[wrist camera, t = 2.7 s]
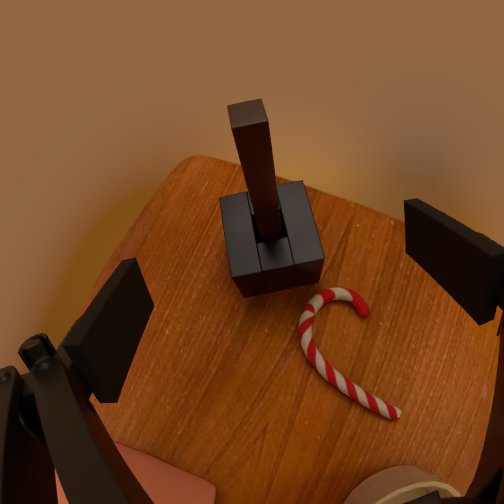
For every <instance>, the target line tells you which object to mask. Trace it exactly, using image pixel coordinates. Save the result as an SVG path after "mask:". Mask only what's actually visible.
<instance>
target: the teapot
mask: <svg viewBox="0 0 504 504" xmlns="http://www.w3.org/2000/svg"><path fill="white" fill-rule="evenodd" d="M113 442H114V441H113ZM114 444H115V446H116V447H117V449H118V451H119V452H120V454H121V455H122V457H123V459H124V460H125V462H126V463H127V465H128V466H129V468H130V469H131V471H132V473H133V474H134V475H135V477H136V478H137V480H138V481H139V483H140V484H141V486H142V487H143V489H144V490H145V491H146V493H147V494H148V495H149V497H150V498H151V500H152V501H153V502H154V504H214V500H215V494H216V487H215V486H214V485H213V484H212V483H210V482H208V481H206V480H204V479H202V478H200V477H198V476H196V475H193V474H191V473H189V472H186V471H184V470H182V469H180V468H177V467H175V466H173V465H171V464H168V463H166V462H164V461H162V460H159V459H157V458H155V457H152V456H150V455H147V454H145V453H142V452H140V451H137V450H135V449H132V448H130V447H127V446H125V445H122V444H120V443H117V442H114ZM55 477H56V487H57V496H58V504H69V503H68V501H67V498H66V496H65V494H64V491H63V489H62V486H61V483H60V481H59V478H58V475H57V473H56V470H55Z"/></svg>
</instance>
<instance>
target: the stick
mask: <svg viewBox="0 0 504 504" xmlns="http://www.w3.org/2000/svg"><path fill="white" fill-rule="evenodd" d="M227 108H228V114H229V119H230V124H231V129H232V133H233V137H234V140H235V143H236V148H237V151H238V155H239V159H240V162H241V166H242V170H243V174H244V177H245V181H246V185H247V189H248V192H249V196H250V200H251V204H252V207H253V211H254V215H255V219H256V223H257V226H258V230H259V234H260V238H261V242H266V241H271V240H276V239H280V238H282V230H281V221H280V212H279V203H278V194H277V186H276V177H275V169H274V161H273V153H272V145H271V138H270V129H269V122H268V118H267V115H266V111H265V108H264V105H263V102H262V99H256V100H251V101H246V102H241V103H237V104H232V105H228V106H227Z"/></svg>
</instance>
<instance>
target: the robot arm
mask: <svg viewBox="0 0 504 504" xmlns="http://www.w3.org/2000/svg"><path fill="white" fill-rule="evenodd" d="M404 212H405V242H406V253H407V254H408V255H409V256H410V257H411V258H412V259H413V260H414V261H416V262H417V263H418V264H419V265H420V266H421V267H422V268H423V269H424V270H425V271H426V272H427V273H428V274H429V275H430V276H431V277H432V278H433V279H434V280H435V281H436V282H437V283H438V284H440V285H441V286H442V287H443V288H444V289H445V290H446V291H447V292H448V293H449V294H450V295H451V296H452V298H453V299H454V300H455V301H456V302H457V303H458V304H459V305H460V306H461V307H462V308H463V309H464V310H465V311H466V312H467V313H468V314H469V315H470V316H471V317H472V318H473V319H474V320H475V322H476V323H477V324H478V325H479V326H480V325H482V324H484V323H487V322H489V321H491V320H493V319H494V317H495V312H496V308H497V305H498V306H499V307H500V308H501V309H502V310H503V312H502V316H501V320H500V324H499V328H498V332H497V335H496V336H499V334H500V345H499V357H498V367H497V376H496V384H495V391H494V397H493V403H492V409H491V414H490V419H489V424H488V429H487V433H486V438H485V442H484V446H483V450H482V453H481V457H480V461H479V464H478V468H477V471H476V474H475V476H474V479H473V481H472V483H471V485H470V487H469V488H468V490H467V492H466V494H465V496H464V497H446V498H441V497H440V495H439V492H438V490H435V491H433V492H431V493H428V494H426V495H423V496H421V497H418V498H416V499H413V500H411V501H408V502H405V503H403V504H504V247H503V246H501V245H499V244H497V243H496V242H495V241H493V240H491V239H490V238H489V237H487V236H485V235H484V234H481V233H479V232H475V231H474V230H472V229H470V228H469V227H467V226H465V225H464V224H462V223H460V222H459V221H457V220H455V219H454V218H452V217H450V216H448V215H447V214H445V213H443V212H441V211H439V210H437V209H436V208H434V207H432V206H430V205H429V204H427V203H425V202H423V201H421V200H419V199H417V198H416V199H410V200H405V201H404ZM153 308H154V303H153V301H152V298H151V296H150V293H149V291H148V288H147V286H146V283H145V281H144V278H143V276H142V273H141V270H140V268H139V265H138V262H137V260H136V257H135V258H131V259H127V260H122V261H121V263H120V264H119V265H118V267H117V268H116V269H115V271H114V272H113V273H112V275H111V276H110V277H109V279H108V280H107V281H106V283H105V284H104V286H103V287H102V288H101V290H100V291H99V292H98V294H97V295H96V297H95V298H94V299H93V301H92V302H91V304H90V305H89V307H88V308H87V309H86V311H85V312H84V314H83V315H82V316H81V317H80V318H79V319H78V320H76V321H75V323H74V324H73V326H72V327H71V330H69V332H68V333H67V336H65V338H64V339H63V341H62V342H61V344H60V345H59V347H58V348H57V350H55V348H54V347H53V345H52V343H51V342H50V340H49V338H48V336H47V335H46V334H43V333H41V334H36V335H34V336H32V337H30V338H29V339H27V340H26V341H25V342H24V343H23V344H22V345H21V347H20V348H19V350H18V354H19V355H20V357H21V359H22V360H23V362H24V363H25V364H26V366H27V368H28V369H29V370H30V373H26V374H23V375H20V374H19V372H18V371H17V370H16V368H15V367H14V366H7V367H5V368H2V369H0V504H58V496H57V487H56V477H55V470H56V473H57V475H58V478H59V481H60V483H61V486H62V489H63V491H64V494H65V496H66V498H67V501H68V503H69V504H154V502H153V501H152V500H151V498H150V497H149V495H148V494H147V493H146V491H145V490H144V489H143V487H142V486H141V484H140V483H139V481H138V480H137V478H136V477H135V475H134V474H133V473H132V471H131V469H130V468H129V466H128V465H127V463H126V462H125V460H124V459H123V457H122V455H121V454H120V452H119V451H118V449H117V447H116V446H115V444H114V442H113V440H112V439H111V437H110V435H109V434H108V432H107V430H106V428H105V426H104V425H103V423H102V421H101V419H100V417H99V415H98V413H97V412H96V410H95V408H94V406H93V405H92V403H91V402H90V401H89V398H90V396H91V394H92V393H93V394H94V395H95V397H96V398H97V400H98V401H99V402H100V403H117V401H118V399H119V396H120V393H121V390H122V387H123V385H124V382H125V379H126V376H127V374H128V371H129V368H130V366H131V363H132V361H133V358H134V355H135V353H136V350H137V348H138V345H139V342H140V340H141V337H142V335H143V332H144V330H145V327H146V325H147V322H148V320H149V318H150V315H151V313H152V310H153Z"/></svg>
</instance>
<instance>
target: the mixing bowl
mask: <svg viewBox="0 0 504 504" xmlns="http://www.w3.org/2000/svg"><path fill="white" fill-rule="evenodd" d="M435 490H438V492H439V495H440V497H441V498H446V497H461V495H460V493H459V492H458V491H457V490H456V489H454V488H453V487H452V486H451V485H449V484H448V483H446V482H445V481H443V480H442V479H440V478H439V477H437V476H436V475H434V474H433V473H431V472H430V471H428V470H427V469H424V468H421V467H418V466H414V465H406V466H395V467H391V468H388V469H384V470H381V471H379V472H377V473H376V474H374V475H372V476H370V477H369V478H367V479H365V480H364V481H363V482H361V483H360V484H359V485H358V486H357V487H356V488H355V489H353V490H352V492H351V493H350V494H349V496H348V497H347V499H346V500H345V501H344V503H343V504H403V503H405V502H408V501H411V500H413V499H416V498H418V497H421V496H423V495H426V494H428V493H431V492H433V491H435Z"/></svg>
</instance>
